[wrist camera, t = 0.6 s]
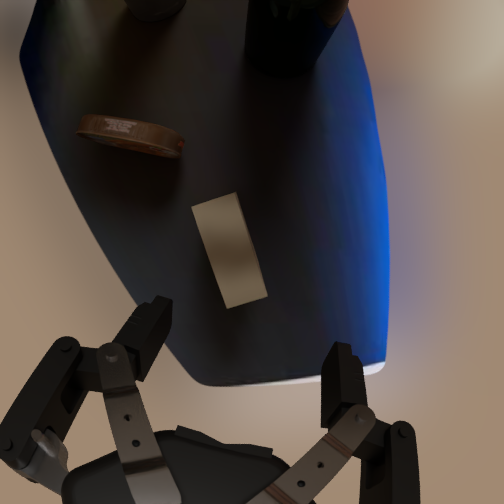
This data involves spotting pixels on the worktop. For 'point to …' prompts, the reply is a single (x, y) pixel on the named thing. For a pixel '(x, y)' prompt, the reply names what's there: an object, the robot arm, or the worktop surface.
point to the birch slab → (230, 250)
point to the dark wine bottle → (289, 33)
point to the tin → (131, 135)
